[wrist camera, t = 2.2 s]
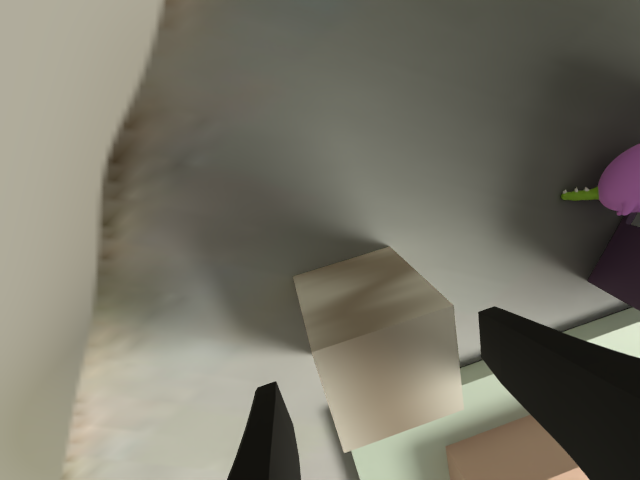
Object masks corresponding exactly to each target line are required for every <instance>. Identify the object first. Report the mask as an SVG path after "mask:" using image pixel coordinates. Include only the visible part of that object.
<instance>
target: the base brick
mask: <svg viewBox="0 0 640 480" xmlns="http://www.w3.org/2000/svg"><path fill="white" fill-rule="evenodd" d="M445 447H446V454H447V461H448V468H449V475H450V480H589V478H588V477H587V476H586V475H585V474H584V472H583V471H582V470H581V469H580V467H579V466H578V465H577V464H576V463H575V461H574V460H573V459H572V458H571V457H570V456H569V455H568V453H567V452H566V451H565V450H564V449H563V448H562V447H561V446H560V445H559V444H558V443H557V441H556V440H555V439H554V438H553V437H552V436H551V435H550V434H549V433H548V432H547V431H546V430H545V429H544V428H543V427H542V426H541V425H540V424H539V423H538V422H537V421H536V420H535V419H534V418H533V417H532V416H531V415H528V416H525V417H523V418H520V419H517V420H515V421H512V422H509V423H507V424H504V425H501V426H499V427H496V428H493V429H491V430H488V431H485V432H483V433H480V434H477V435H475V436H472V437H469V438H467V439H464V440H461V441H459V442H456V443H453V444H451V445H448V446H445Z"/></svg>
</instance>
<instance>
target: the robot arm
mask: <svg viewBox="0 0 640 480" xmlns="http://www.w3.org/2000/svg"><path fill="white" fill-rule="evenodd" d="M478 314H479V329H480V344H481V358H482V359H483V360H484V362H485V363H486V364H487V366H488V367H489V369H490V370H491V371H492V373H493V374H494V375H495V376H496V378H497V379H498V380H499V381H500V383H501V384H502V385H503V386H504V387H505V388H506V389H507V391H508V392H509V393H510V394H511V395H512V396H513V397H514V398H515V399H516V400H517V401H518V402H519V403H520V404H521V405H522V406H523V407H524V408H525V409H526V410H527V411H528V412H529V414H530V415H531V416H532V417H533V418H534V419H535V420H536V421H537V422H538V423H539V424H540V425H541V426H542V427H543V428H544V429H545V430H546V431H547V432H548V433H549V434H550V435H551V436H552V437H553V438H554V439H555V440H556V441H557V443H558V444H559V445H560V446H561V447H562V448H563V449H564V450H565V451H566V452H567V453H568V455H569V456H570V457H571V458H572V459H573V460H574V461H575V463H576V464H577V465H578V466H579V467H580V469H581V470H582V471H583V472H584V474H585V475H586V476H587V477H588V478H589V480H640V358H638V357H634V356H631V355H628V354H624V353H621V352H618V351H615V350H611V349H608V348H605V347H602V346H599V345H596V344H593V343H590V342H587V341H585V340H582V339H579V338H576V337H573V336H571V335H568V334H565V333H563V332H560V331H557V330H555V329H552V328H549V327H547V326H544V325H542V324H539V323H536V322H534V321H531V320H529V319H526V318H524V317H521V316H519V315H516V314H514V313H511V312H508V311H506V310H503V309H500V308H497V307H492V308H489V309H486V310H483V311H480V312H478ZM227 480H301V475H300V463H299V455H298V449H297V443H296V438H295V432H294V427H293V423H292V421H291V418H290V416H289V413H288V411H287V408H286V405H285V403H284V400H283V398H282V395H281V393H280V390H279V388H278V385H277V382H276V381H275V382H272V383H269V384H266V385H264V386H261V387H258V388H257V390H256V391H255V396H254V400H253V403H252V407H251V411H250V414H249V418H248V421H247V425H246V428H245V431H244V434H243V437H242V440H241V443H240V446H239V449H238V452H237V455H236V458H235V460H234V463H233V466H232V468H231V471H230V473H229V476H228V478H227Z"/></svg>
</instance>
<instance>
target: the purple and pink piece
mask: <svg viewBox="0 0 640 480" xmlns="http://www.w3.org/2000/svg"><path fill="white" fill-rule="evenodd" d="M574 190H575V191H573V192H567V191H566V189H565V191H562V192H563V194H562V195H561V198H562V199H563V200H572V201H578V200H594V199H597V200H600V202H601V203H602V204H603V205H604V206H605V207H607V208H609V209H611V210H614V211H617V215H618V216H620V215H624V217H623V219H622V221H621V223H620V224H619V226H618V228H617V230H616V231H615V233H614V235H613V237H612V238H611V240H610V242H609V244H608V245H607V247H606V249H605V251H604V252H603V254H602V256H601V258H600V259H599V261H598V263H597V265H596V266H595V268H594V270H593V272H592V273H591V275H590V277H589V279H588V280H587V281H588V282H590V283H591V284H593V285H595V286H597V287H598V288H600V289H602V290H604V291H605V292H607V293H609V294H611V295H612V296H614V297H616V298H618V299H620V300H621V301H623V302H625V303H627V304H628V305H630V306H632V307H634V308H635V309H637V310H639V311H640V227H637V226H633V225H631V223H632V221H633V220H634V218H635V216H636V215H637V213H638V212H640V143H639V144H637V145H635V146H633V147H631V148H630V149H628V150H626V151H625V152H623V153H622V154H620V155H619V156H617V157H616V158H615V159H614V160H613V161H612V162H611V163H610V164H609V165H608V166H607V167H606V169H605V170H604V172H603V173H602V175H601V177H600V180H599V183H598V186H597V187H595V188H593V189H588V188H587V187H585V189H584V190H582V191H579V190H578V189H577V187H576V189H574Z"/></svg>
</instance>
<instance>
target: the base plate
mask: <svg viewBox="0 0 640 480" xmlns="http://www.w3.org/2000/svg"><path fill="white" fill-rule="evenodd" d="M563 333H565V334H568V335H571V336H573V337H576V338H579V339H582V340H585V341H587V342H590V343H593V344H596V345H599V346H602V347H605V348H608V349H611V350H615V351H618V352H621V353H624V354H628V355H631V356H634V357H638V358H640V311H639V310H637V309H635V308H634V307H632V308H629V309H626V310H624V311H621V312H618V313H615V314H612V315H609V316H607V317H604V318H601V319H598V320H595V321H592V322H590V323H587V324H584V325H581V326H578V327H575V328H573V329H570V330H567V331H564V332H563ZM460 374H461V383H462V393H463V403H464V410H461V411H459V412H456V413H453V414H450V415H448V416H445V417H442V418H440V419H437V420H434V421H431V422H429V423H426V424H423V425H420V426H418V427H415V428H412V429H409V430H407V431H404V432H401V433H398V434H396V435H393V436H390V437H387V438H385V439H382V440H379V441H376V442H374V443H371V444H368V445H366V446H363V447H360V448H357V449H355V450H352V451H351V452H352V455H353V459H354V462H355V465H356V468H357V472H358V475H359V478H360V480H450V475H449V468H448V461H447V454H446V447H445V446H448V445H451V444H453V443H456V442H459V441H461V440H464V439H467V438H469V437H472V436H475V435H477V434H480V433H483V432H485V431H488V430H491V429H493V428H496V427H499V426H501V425H504V424H507V423H509V422H512V421H515V420H517V419H520V418H523V417H525V416H528V415H530V414H529V412H528V411H527V410H526V409H525V408H524V407H523V406H522V405H521V404H520V403H519V402H518V401H517V400H516V399H515V398H514V397H513V396H512V395H511V394H510V393H509V392H508V391H507V389H506V388H505V387H504V386H503V385H502V384H501V383H500V381H499V380H498V379H497V378H496V376H495V375H494V374H493V373H492V371H491V370H490V369H489V367H488V366H487V364H486V363H485V362H484V360H482V361H479V362H476V363H474V364H471V365H468V366H465V367H462V368H460Z"/></svg>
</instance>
